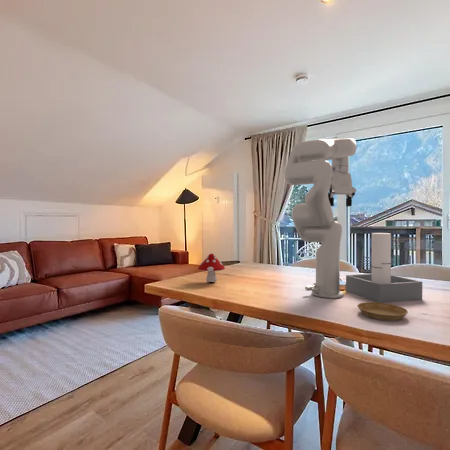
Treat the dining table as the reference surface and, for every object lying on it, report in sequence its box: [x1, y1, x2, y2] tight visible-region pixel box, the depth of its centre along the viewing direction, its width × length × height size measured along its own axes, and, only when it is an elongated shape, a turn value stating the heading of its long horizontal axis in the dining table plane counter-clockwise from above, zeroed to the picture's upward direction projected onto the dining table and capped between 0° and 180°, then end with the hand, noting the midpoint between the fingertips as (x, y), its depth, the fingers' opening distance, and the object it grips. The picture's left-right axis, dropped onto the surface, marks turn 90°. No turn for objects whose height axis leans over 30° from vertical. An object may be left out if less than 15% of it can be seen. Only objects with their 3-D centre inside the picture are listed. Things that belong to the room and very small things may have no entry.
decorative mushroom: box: [197, 253, 226, 283], centre depth 148 cm, size 14×14×15 cm
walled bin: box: [345, 273, 423, 303], centre depth 123 cm, size 20×20×7 cm
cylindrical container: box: [371, 232, 392, 284], centre depth 123 cm, size 7×7×25 cm
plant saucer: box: [356, 301, 409, 322], centre depth 97 cm, size 15×15×3 cm
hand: (340, 206), depth 141 cm, fingers open, 9 cm apart
